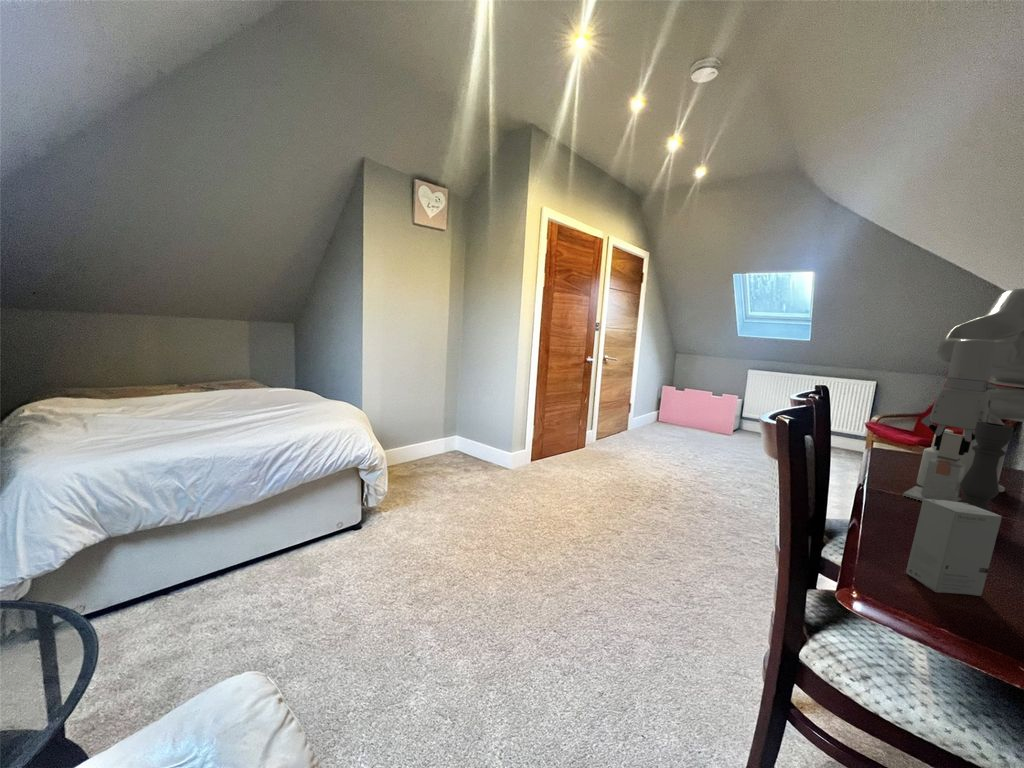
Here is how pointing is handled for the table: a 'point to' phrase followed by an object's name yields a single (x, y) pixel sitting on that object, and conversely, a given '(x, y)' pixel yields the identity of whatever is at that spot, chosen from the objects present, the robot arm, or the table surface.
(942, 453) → the jack column
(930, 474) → the white blocky piece
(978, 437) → the candle holder
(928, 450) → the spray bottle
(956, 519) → the skincare box
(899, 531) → the table surface
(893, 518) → the table surface
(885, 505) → the table surface
